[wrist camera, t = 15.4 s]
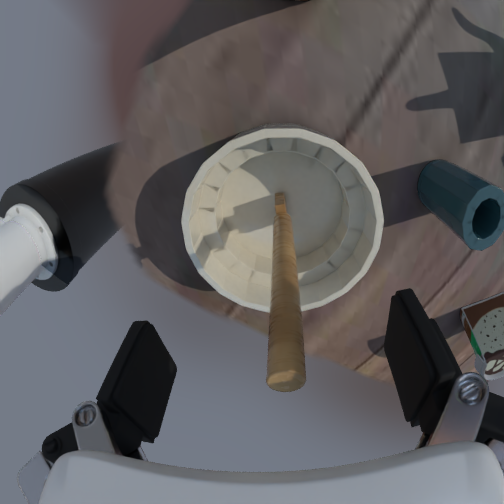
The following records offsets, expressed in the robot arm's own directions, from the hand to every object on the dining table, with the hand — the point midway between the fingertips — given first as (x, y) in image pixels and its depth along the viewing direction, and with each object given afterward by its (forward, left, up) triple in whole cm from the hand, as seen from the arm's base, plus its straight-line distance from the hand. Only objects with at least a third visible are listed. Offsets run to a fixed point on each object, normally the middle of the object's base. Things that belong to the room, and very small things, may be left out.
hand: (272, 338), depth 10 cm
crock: (+12, +11, -16) cm, 23 cm away
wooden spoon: (+1, 0, -15) cm, 15 cm away
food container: (+34, +5, -16) cm, 38 cm away
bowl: (+1, 0, -16) cm, 16 cm away
